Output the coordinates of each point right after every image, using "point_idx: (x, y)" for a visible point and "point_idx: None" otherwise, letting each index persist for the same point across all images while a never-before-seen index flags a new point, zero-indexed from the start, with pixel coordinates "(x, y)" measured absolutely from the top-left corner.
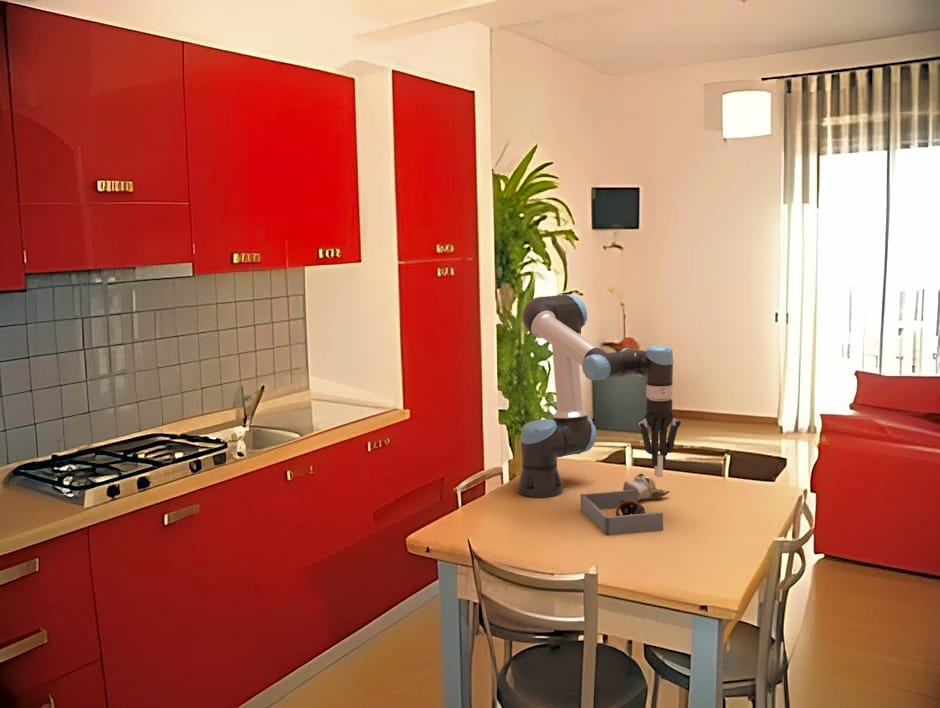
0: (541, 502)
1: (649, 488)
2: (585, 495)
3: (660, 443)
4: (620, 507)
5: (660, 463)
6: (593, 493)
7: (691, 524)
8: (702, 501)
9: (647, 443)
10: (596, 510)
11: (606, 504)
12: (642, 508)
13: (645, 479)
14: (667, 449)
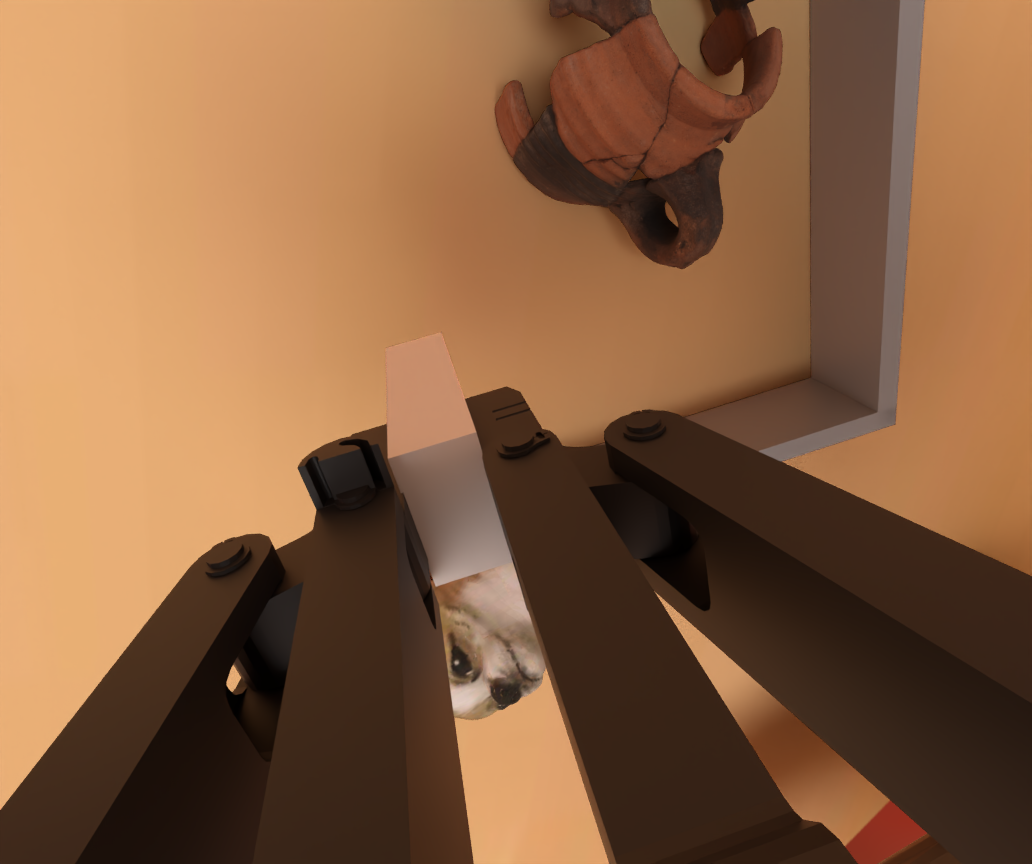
0: (958, 496)
1: (447, 599)
2: (870, 413)
3: (440, 697)
4: (746, 87)
5: (423, 395)
6: (819, 445)
7: (162, 61)
8: (102, 576)
9: (824, 501)
10: (914, 61)
11: (707, 423)
12: (576, 58)
13: (477, 659)
14: (286, 587)
